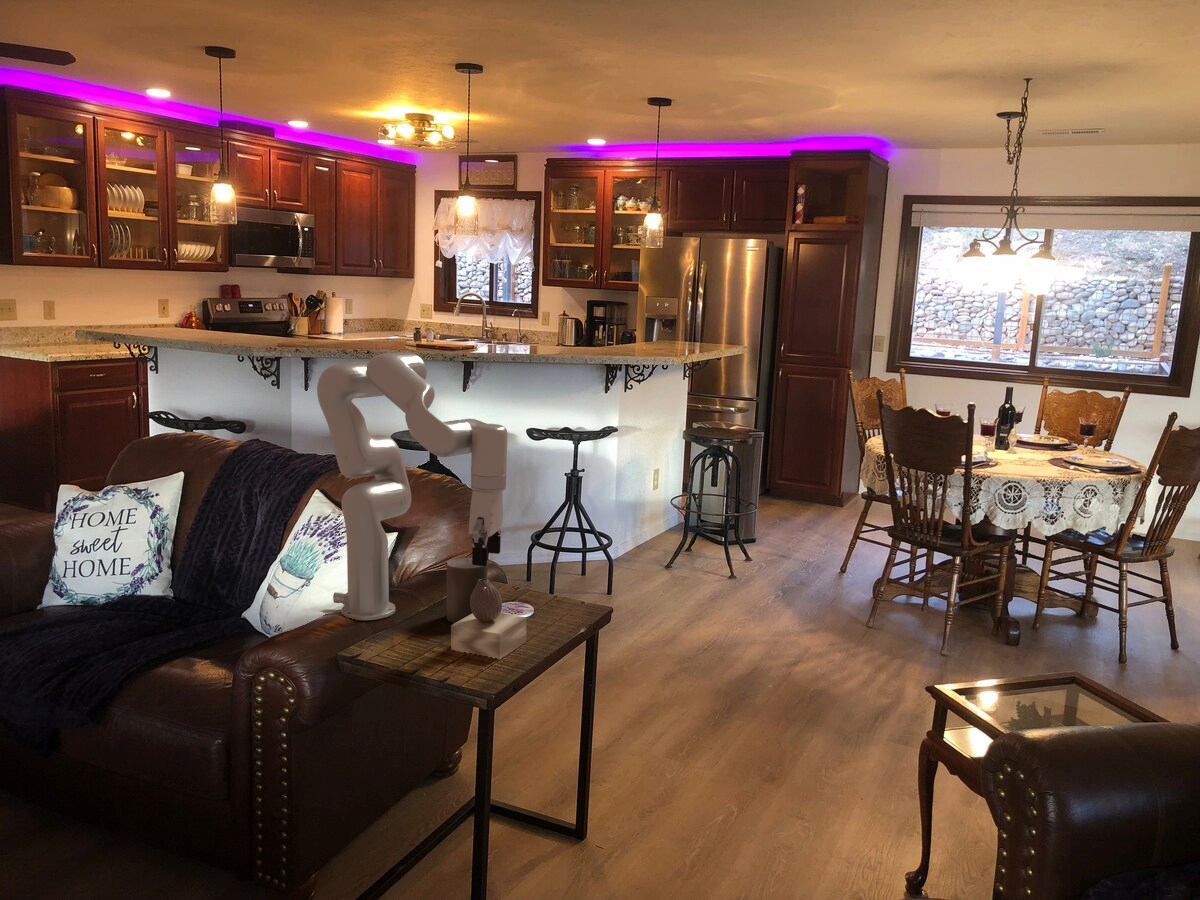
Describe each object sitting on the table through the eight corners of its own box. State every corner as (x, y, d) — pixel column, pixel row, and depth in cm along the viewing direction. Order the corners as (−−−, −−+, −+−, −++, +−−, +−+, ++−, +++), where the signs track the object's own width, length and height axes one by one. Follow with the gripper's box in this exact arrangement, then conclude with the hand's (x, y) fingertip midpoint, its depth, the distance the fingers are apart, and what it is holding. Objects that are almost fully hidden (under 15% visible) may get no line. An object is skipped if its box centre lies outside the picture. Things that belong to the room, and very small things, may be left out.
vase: (478, 616, 213) (473, 577, 212) (508, 614, 211) (502, 575, 211) (467, 624, 206) (462, 584, 206) (498, 622, 205) (492, 581, 204)
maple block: (451, 651, 207) (451, 625, 206) (479, 634, 218) (479, 609, 217) (499, 661, 202) (499, 634, 201) (526, 643, 213) (526, 617, 212)
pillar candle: (484, 625, 222) (485, 563, 220) (442, 624, 222) (443, 561, 220) (489, 612, 232) (490, 552, 230) (449, 611, 232) (450, 551, 230)
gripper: (483, 473, 213) (481, 547, 216) (458, 488, 196) (456, 568, 199) (516, 475, 212) (513, 550, 215) (493, 491, 195) (491, 572, 198)
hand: (486, 559), depth 207 cm, fingers open, 9 cm apart
